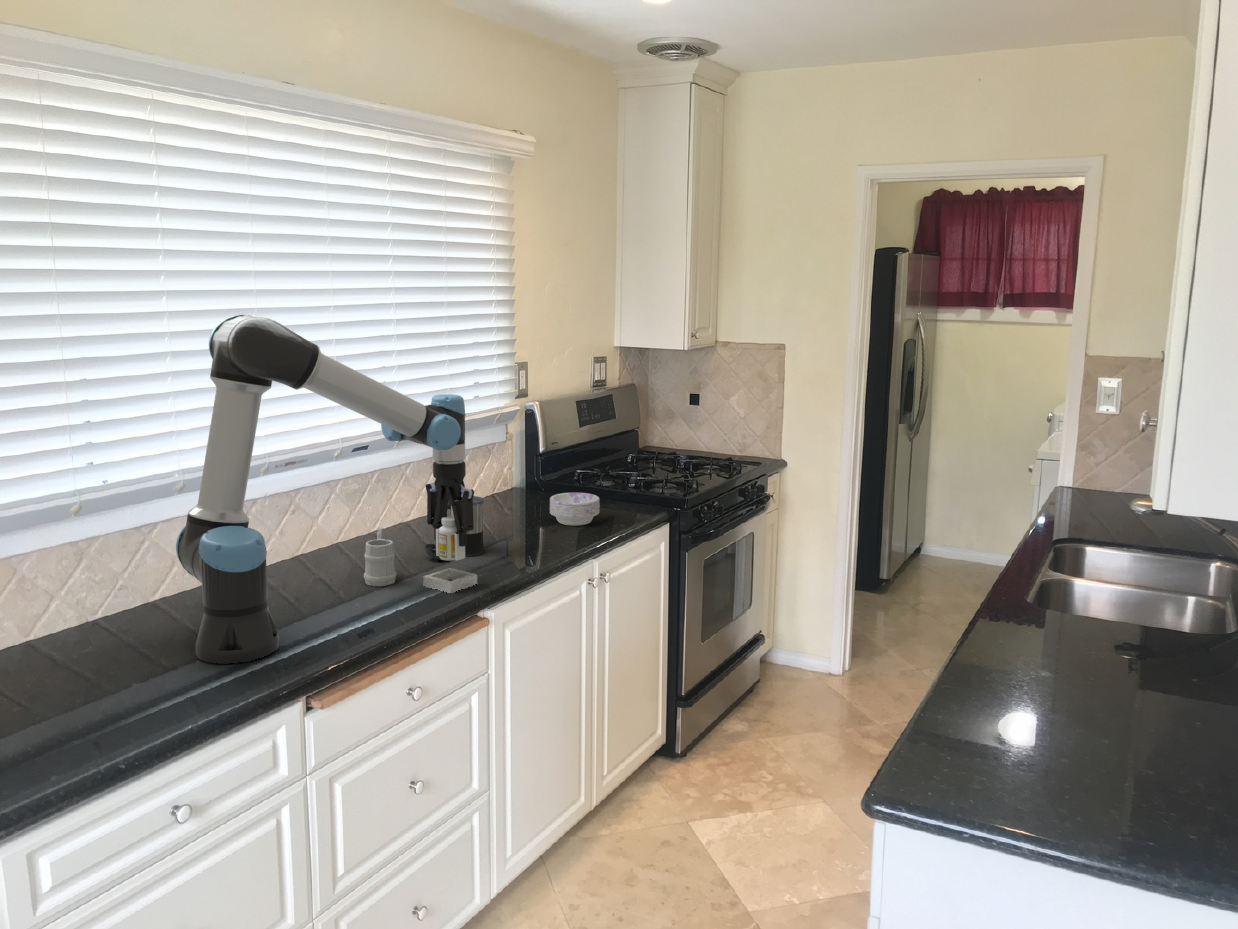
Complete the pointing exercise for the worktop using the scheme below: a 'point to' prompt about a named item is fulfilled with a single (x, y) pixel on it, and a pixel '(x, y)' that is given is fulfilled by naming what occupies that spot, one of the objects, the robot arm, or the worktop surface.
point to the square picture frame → (441, 579)
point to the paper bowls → (574, 508)
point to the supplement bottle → (447, 538)
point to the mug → (379, 561)
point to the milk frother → (473, 536)
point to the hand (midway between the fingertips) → (450, 556)
